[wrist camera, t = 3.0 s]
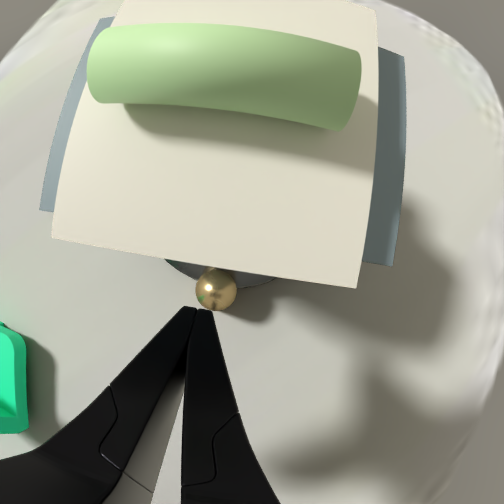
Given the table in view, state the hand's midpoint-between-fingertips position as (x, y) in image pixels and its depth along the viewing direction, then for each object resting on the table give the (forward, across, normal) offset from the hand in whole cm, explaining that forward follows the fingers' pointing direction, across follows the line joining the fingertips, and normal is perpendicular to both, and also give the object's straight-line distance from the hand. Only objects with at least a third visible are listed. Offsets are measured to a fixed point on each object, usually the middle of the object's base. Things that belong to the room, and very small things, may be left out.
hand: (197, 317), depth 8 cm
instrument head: (+11, 0, -2) cm, 11 cm away
